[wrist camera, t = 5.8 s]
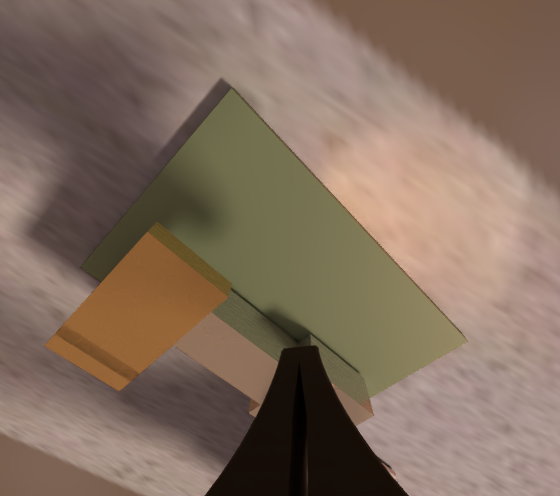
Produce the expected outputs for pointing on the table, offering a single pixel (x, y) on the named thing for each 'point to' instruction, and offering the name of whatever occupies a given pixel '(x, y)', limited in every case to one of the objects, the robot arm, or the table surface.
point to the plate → (285, 248)
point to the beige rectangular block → (263, 356)
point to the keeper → (140, 309)
